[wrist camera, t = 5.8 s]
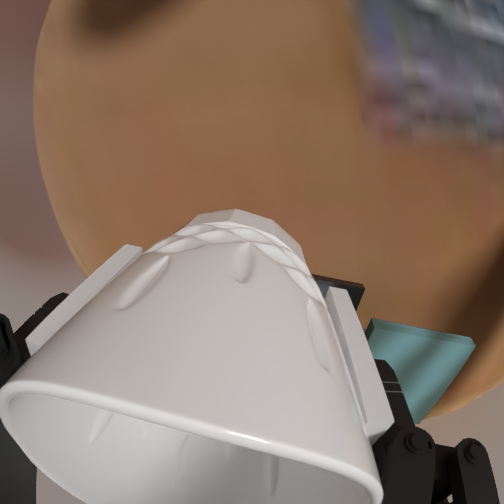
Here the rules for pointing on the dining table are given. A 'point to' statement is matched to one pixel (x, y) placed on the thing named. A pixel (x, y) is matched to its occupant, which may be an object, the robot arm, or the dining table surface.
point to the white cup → (199, 381)
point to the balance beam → (419, 360)
